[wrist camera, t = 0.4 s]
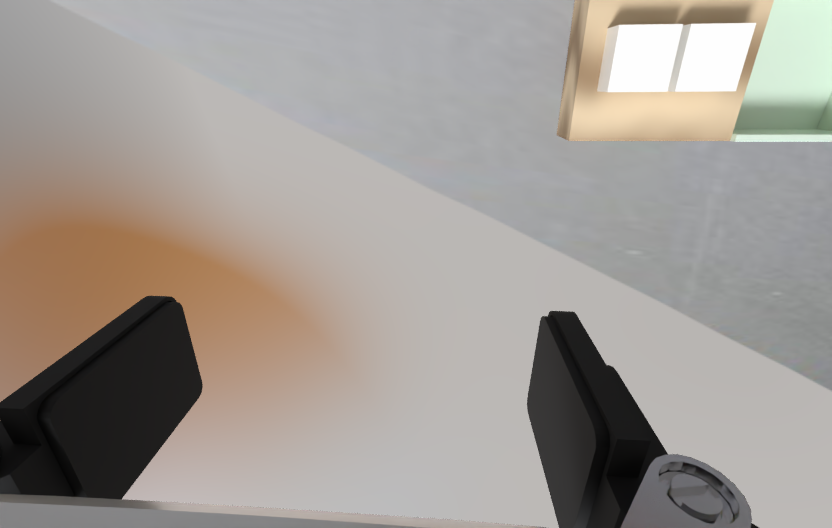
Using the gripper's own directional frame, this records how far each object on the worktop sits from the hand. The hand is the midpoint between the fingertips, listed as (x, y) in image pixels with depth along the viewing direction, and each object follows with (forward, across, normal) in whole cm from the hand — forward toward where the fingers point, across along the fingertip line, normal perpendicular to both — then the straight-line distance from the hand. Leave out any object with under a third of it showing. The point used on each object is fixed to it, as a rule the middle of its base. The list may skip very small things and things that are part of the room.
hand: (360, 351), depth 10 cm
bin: (+28, -28, -8) cm, 40 cm away
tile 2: (+24, -20, -8) cm, 32 cm away
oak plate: (+28, -18, -8) cm, 34 cm away
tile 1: (+24, -15, -8) cm, 30 cm away
